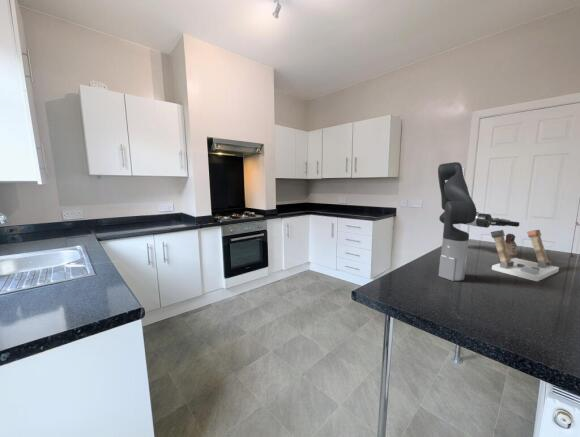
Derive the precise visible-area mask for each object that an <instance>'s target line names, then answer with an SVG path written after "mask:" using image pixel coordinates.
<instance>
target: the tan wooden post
mask: <svg viewBox="0 0 580 437" xmlns="http://www.w3.org/2000/svg"><path fill="white" fill-rule="evenodd" d="M490 235H491V238H492V239H493V240H494V244H495V247H496V251H497V253H498V257H499V261H500V263H501V262H502V263H506V264H508V265H507V266H510V265H511V259H512V258H511V256H510V255H509V252H508V249H507V245H506V242H505V240H506V238H505V237H506V235H505V232H504V229H502V230H493V231H490Z"/></svg>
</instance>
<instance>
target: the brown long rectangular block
mask: <svg viewBox="0 0 580 437" xmlns="http://www.w3.org/2000/svg"><path fill="white" fill-rule="evenodd" d="M526 233H527V236H528V238H530V241H531V243H532V244H531V245H532V247H533V250H534V253H535V257H536V260H537V263H538V262H541V263H546V265H548V262H549V261H550V260H549V258H548V255H547V252H546V250H545V249H546V248H545V247H544V246H545V245H544V243H543V240H542V238H541V236H542V233H541V230H540V229H536V230H535V229H534V230H529V231H526ZM546 265H545V266H546Z"/></svg>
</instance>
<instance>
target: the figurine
mask: <svg viewBox="0 0 580 437" xmlns="http://www.w3.org/2000/svg"><path fill="white" fill-rule="evenodd" d="M515 239H516V236H515V234H513V233H507V234H506V235H505V242H506V245H507V249H508V252H509V255H510V257H512V256H513V257H516V256H518V255H517V254H518V252H517V250H518V249H517V248H518V246H517V245H518V244H517V243H516V241H515Z"/></svg>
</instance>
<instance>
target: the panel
mask: <svg viewBox="0 0 580 437" xmlns="http://www.w3.org/2000/svg"><path fill="white" fill-rule="evenodd" d="M510 259H511V265H510V266H507V265H508V264H506V263H502V262H501V261H500V263H499V262H498V263H495V264H493V265H492V266H491V270H492V271H495V272H499V273H503V274H507V275H511V276H516V277H519V278H522V279H526V280H530V281H534V282H540V281H541V280H544V279H546V278H549V277H550V276H552V275H554V274H557V273H559V269H560V266H559V267H558V266H555V265H551V263H552V261H551V260H548V261H549V262H548V265H546V263H541V262H538V261H537V262H535V261H531V260H527V259H521V258H517V257H514V258H510ZM545 265H546V266H545Z"/></svg>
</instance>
